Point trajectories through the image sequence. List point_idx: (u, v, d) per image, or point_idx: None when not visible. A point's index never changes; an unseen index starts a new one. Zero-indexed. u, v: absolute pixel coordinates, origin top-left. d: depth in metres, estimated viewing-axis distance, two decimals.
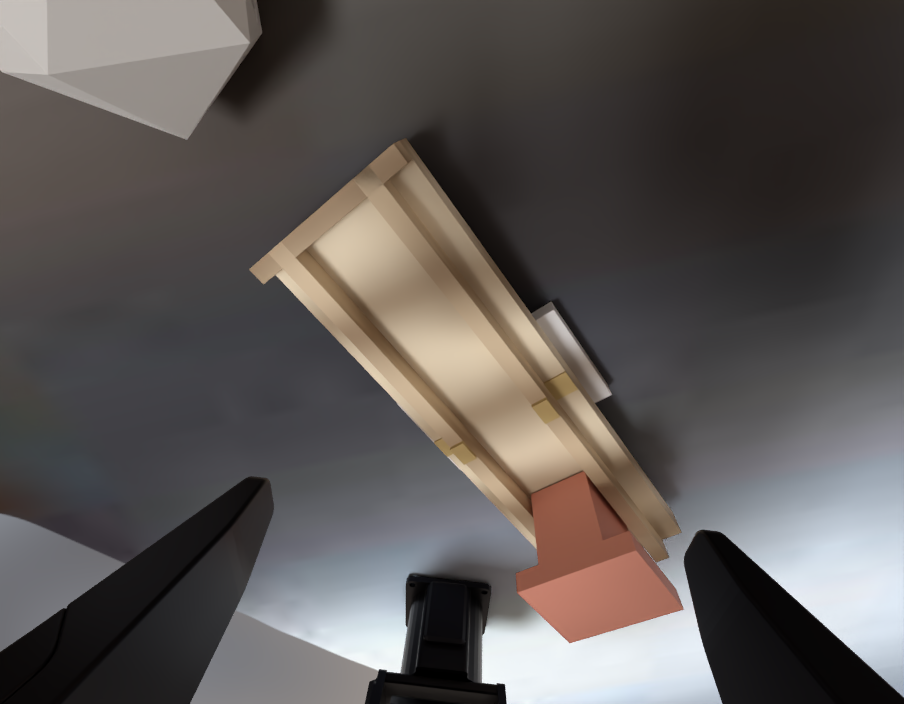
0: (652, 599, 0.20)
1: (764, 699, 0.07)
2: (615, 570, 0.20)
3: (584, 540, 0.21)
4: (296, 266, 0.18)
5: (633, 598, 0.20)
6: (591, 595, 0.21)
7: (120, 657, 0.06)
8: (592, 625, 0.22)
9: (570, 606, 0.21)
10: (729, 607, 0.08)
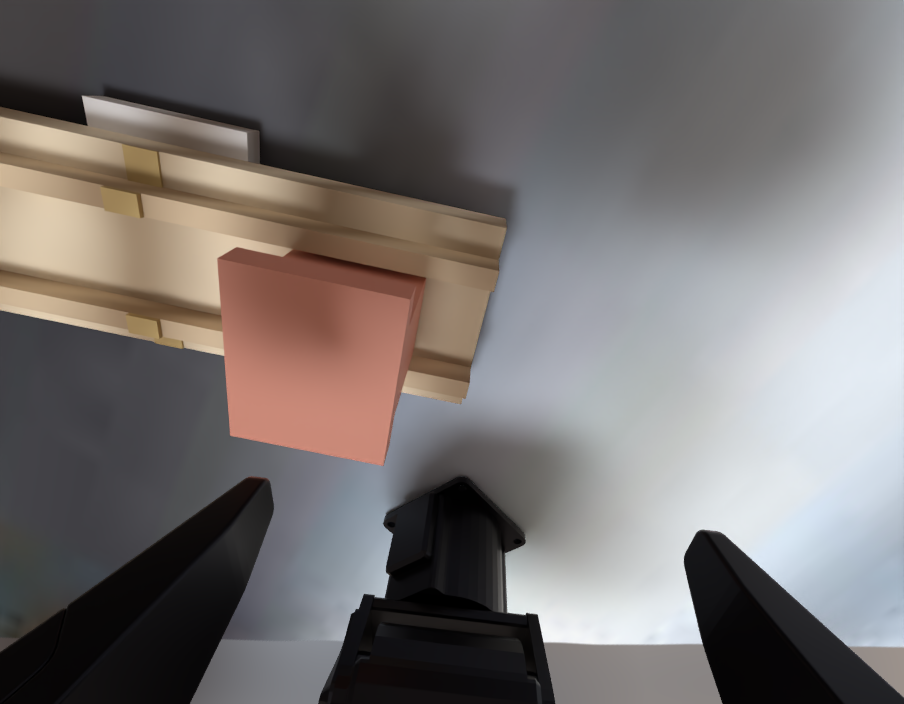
0: (353, 317, 0.12)
1: (764, 699, 0.07)
2: (250, 312, 0.12)
3: None
4: None
5: (333, 337, 0.12)
6: (290, 374, 0.13)
7: (120, 657, 0.06)
8: (362, 419, 0.13)
9: (299, 410, 0.13)
10: (729, 607, 0.08)
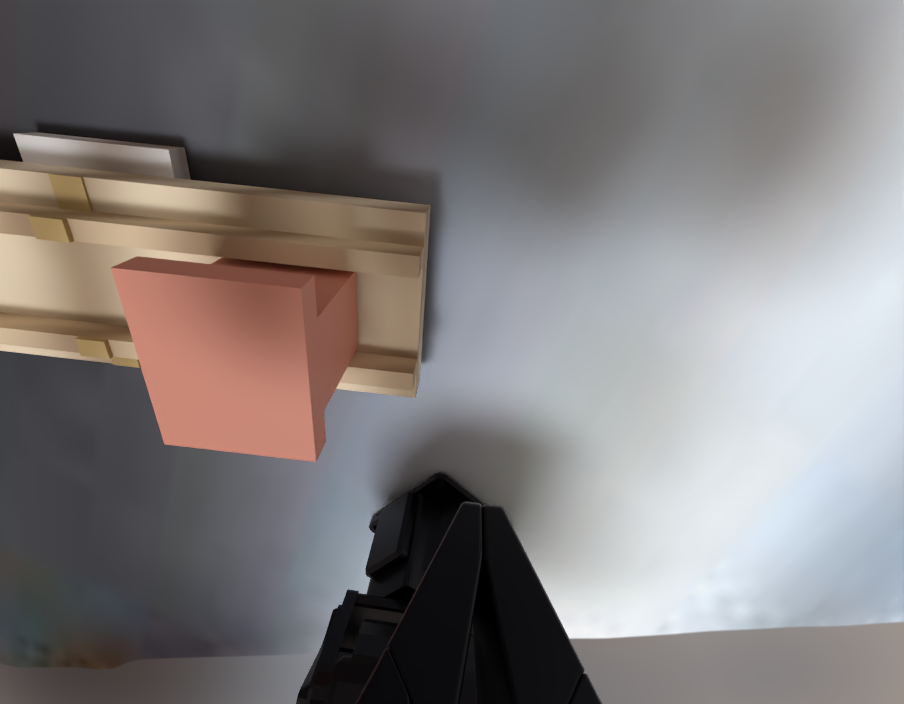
0: (250, 313, 0.12)
1: (485, 664, 0.07)
2: (153, 318, 0.12)
3: None
4: None
5: (237, 335, 0.12)
6: (206, 377, 0.13)
7: (459, 700, 0.06)
8: (284, 415, 0.13)
9: (223, 412, 0.14)
10: (481, 577, 0.08)
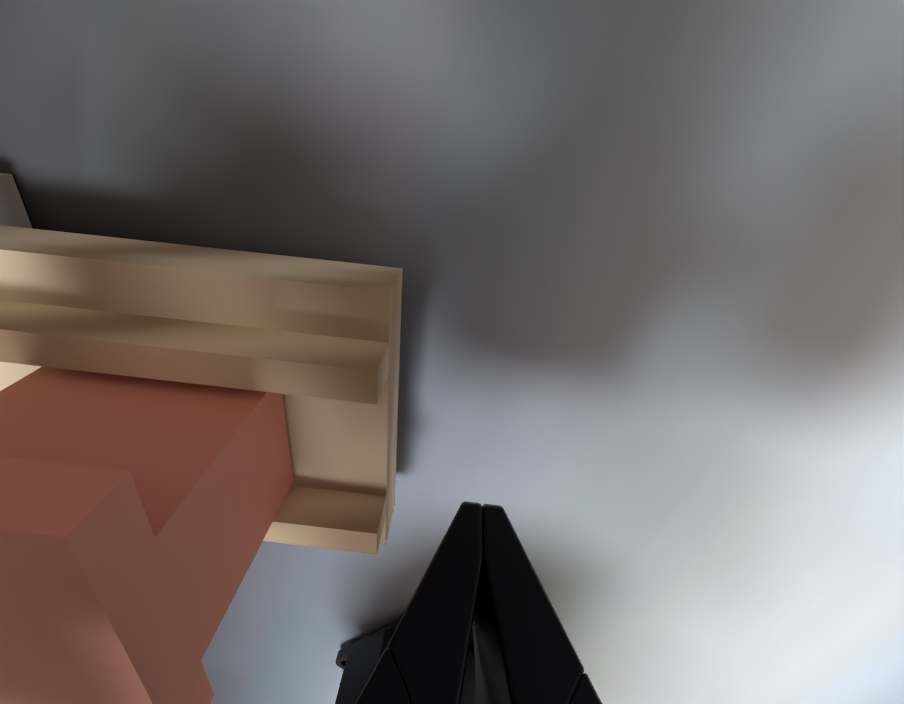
0: None
1: (485, 664, 0.07)
2: None
3: None
4: None
5: None
6: None
7: (459, 700, 0.06)
8: None
9: None
10: (480, 577, 0.08)
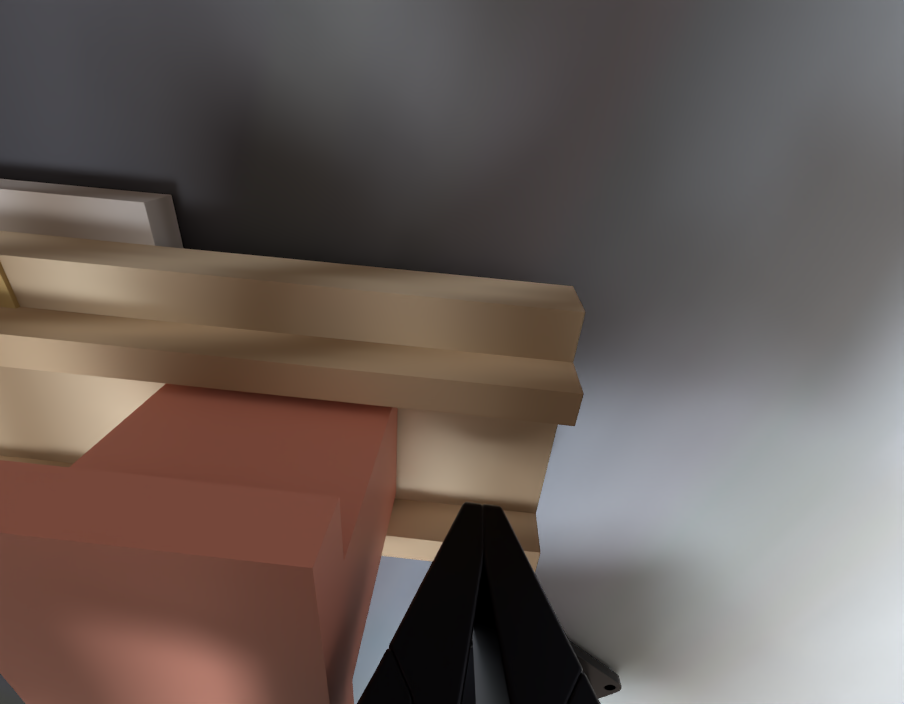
0: (200, 600, 0.05)
1: (484, 664, 0.07)
2: None
3: None
4: None
5: (174, 630, 0.06)
6: (120, 679, 0.06)
7: None
8: None
9: None
10: None
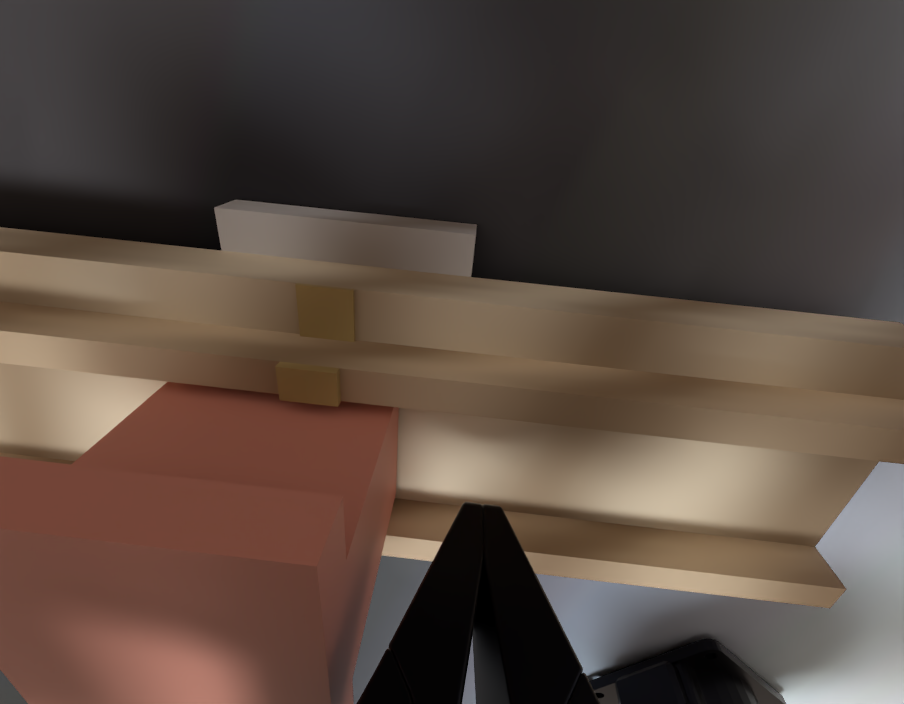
0: (203, 598, 0.05)
1: (484, 664, 0.07)
2: None
3: None
4: None
5: (178, 628, 0.06)
6: (121, 676, 0.06)
7: None
8: None
9: None
10: None
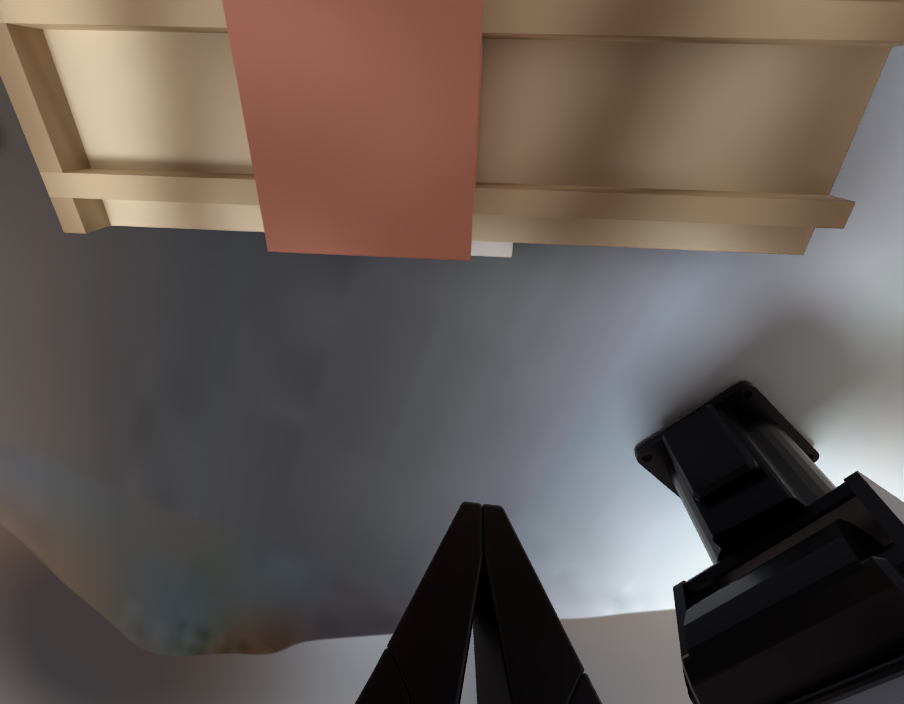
0: None
1: (485, 664, 0.07)
2: (265, 18, 0.09)
3: None
4: (73, 180, 0.15)
5: (382, 37, 0.09)
6: (331, 123, 0.09)
7: (459, 700, 0.06)
8: (435, 182, 0.10)
9: (350, 186, 0.10)
10: (480, 577, 0.08)
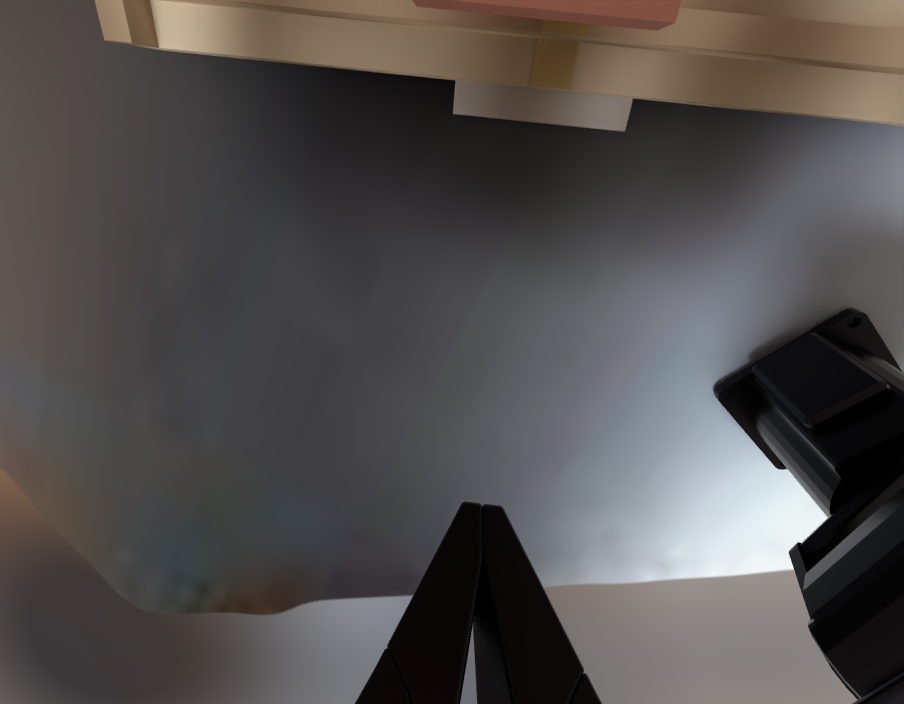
0: None
1: (485, 664, 0.07)
2: None
3: None
4: None
5: None
6: None
7: (459, 700, 0.06)
8: None
9: None
10: (480, 577, 0.08)
